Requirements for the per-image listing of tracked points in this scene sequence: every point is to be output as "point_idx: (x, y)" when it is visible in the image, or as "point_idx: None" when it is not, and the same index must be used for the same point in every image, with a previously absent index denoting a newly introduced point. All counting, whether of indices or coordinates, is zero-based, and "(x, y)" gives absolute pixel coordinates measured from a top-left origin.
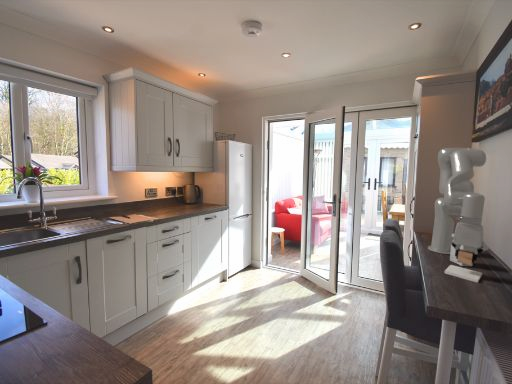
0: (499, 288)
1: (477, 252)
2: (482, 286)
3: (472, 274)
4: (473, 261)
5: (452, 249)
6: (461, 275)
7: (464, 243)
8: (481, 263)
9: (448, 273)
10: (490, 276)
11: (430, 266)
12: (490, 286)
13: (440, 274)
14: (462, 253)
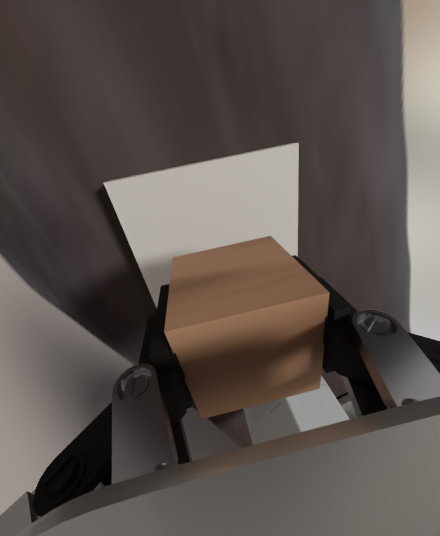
0: (6, 210)
1: (115, 401)
2: (52, 129)
3: (174, 256)
4: (161, 290)
5: (340, 414)
6: (198, 163)
7: (408, 520)
8: (228, 421)
9: (269, 148)
10: (143, 339)
11: (372, 191)
12: (42, 190)
13: (301, 78)
14: (274, 293)
